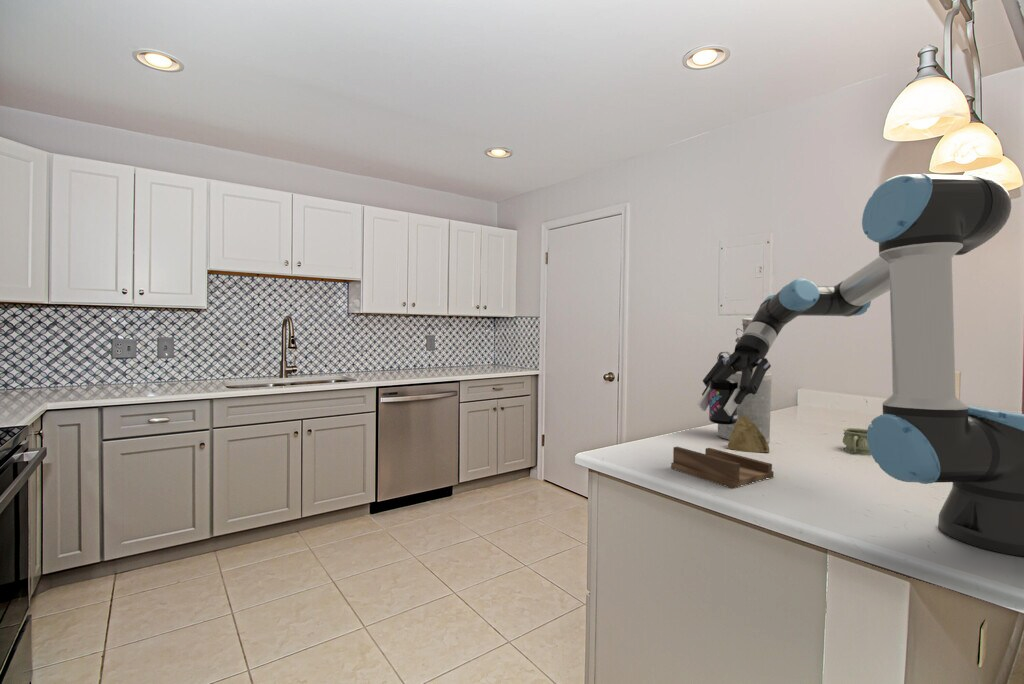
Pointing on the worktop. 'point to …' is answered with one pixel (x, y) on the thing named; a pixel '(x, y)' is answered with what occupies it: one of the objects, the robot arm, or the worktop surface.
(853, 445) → the vessel
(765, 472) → the walnut rack
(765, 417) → the grey jug
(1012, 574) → the worktop surface
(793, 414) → the worktop surface
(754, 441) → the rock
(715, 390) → the supplement container
